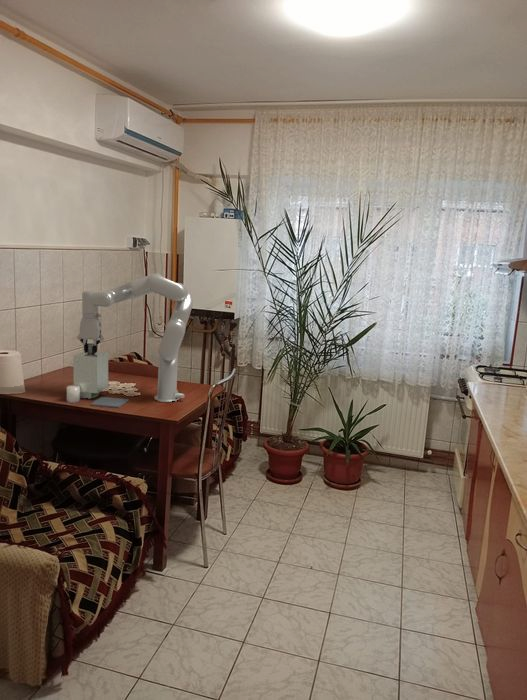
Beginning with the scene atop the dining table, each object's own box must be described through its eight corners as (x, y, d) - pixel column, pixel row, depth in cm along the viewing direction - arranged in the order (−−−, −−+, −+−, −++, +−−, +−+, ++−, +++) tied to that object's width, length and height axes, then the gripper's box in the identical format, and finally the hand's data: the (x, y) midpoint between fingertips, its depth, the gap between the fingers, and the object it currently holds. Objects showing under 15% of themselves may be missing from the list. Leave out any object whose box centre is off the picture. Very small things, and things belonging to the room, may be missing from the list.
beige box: (108, 387, 277) (108, 342, 273) (97, 393, 264) (97, 346, 260) (85, 385, 278) (85, 341, 275) (73, 391, 266) (73, 345, 262)
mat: (128, 400, 269) (128, 399, 269) (118, 408, 255) (118, 406, 255) (101, 398, 270) (101, 396, 270) (90, 405, 256) (90, 404, 256)
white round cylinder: (81, 399, 265) (81, 385, 264) (76, 402, 259) (76, 388, 258) (69, 398, 266) (69, 384, 264) (64, 401, 260) (64, 387, 259)
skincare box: (90, 399, 267) (91, 368, 264) (78, 397, 268) (78, 367, 265) (99, 395, 275) (99, 365, 272) (87, 394, 276) (87, 364, 273)
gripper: (109, 316, 268) (109, 352, 271) (77, 314, 269) (77, 350, 272) (103, 317, 260) (104, 355, 263) (70, 316, 262) (71, 353, 265)
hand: (90, 352), depth 268 cm, fingers closed on beige box, 3 cm apart
